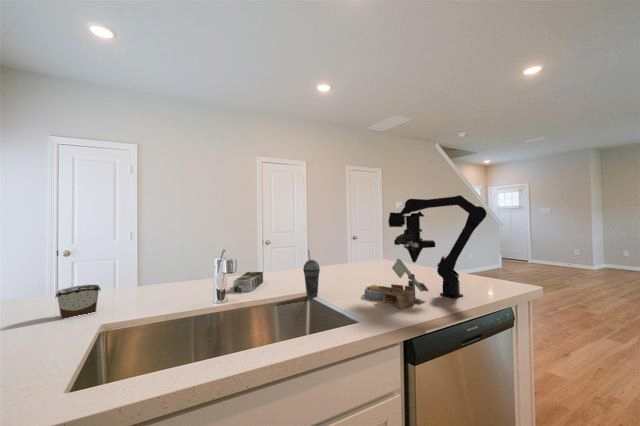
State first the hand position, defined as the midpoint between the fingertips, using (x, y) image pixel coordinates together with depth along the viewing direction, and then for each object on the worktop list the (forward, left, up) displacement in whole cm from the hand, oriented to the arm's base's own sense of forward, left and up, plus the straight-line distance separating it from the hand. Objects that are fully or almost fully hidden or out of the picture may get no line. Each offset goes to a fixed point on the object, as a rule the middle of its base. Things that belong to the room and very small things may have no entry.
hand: (414, 262), depth 117 cm
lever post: (+11, +9, -13) cm, 19 cm away
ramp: (+18, +8, -13) cm, 23 cm away
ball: (+19, -5, -10) cm, 22 cm away
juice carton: (+62, -50, -14) cm, 81 cm away
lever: (+14, +9, -6) cm, 18 cm away
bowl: (+18, -3, -13) cm, 22 cm away
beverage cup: (+42, -18, -13) cm, 48 cm away
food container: (+126, -44, -13) cm, 134 cm away
